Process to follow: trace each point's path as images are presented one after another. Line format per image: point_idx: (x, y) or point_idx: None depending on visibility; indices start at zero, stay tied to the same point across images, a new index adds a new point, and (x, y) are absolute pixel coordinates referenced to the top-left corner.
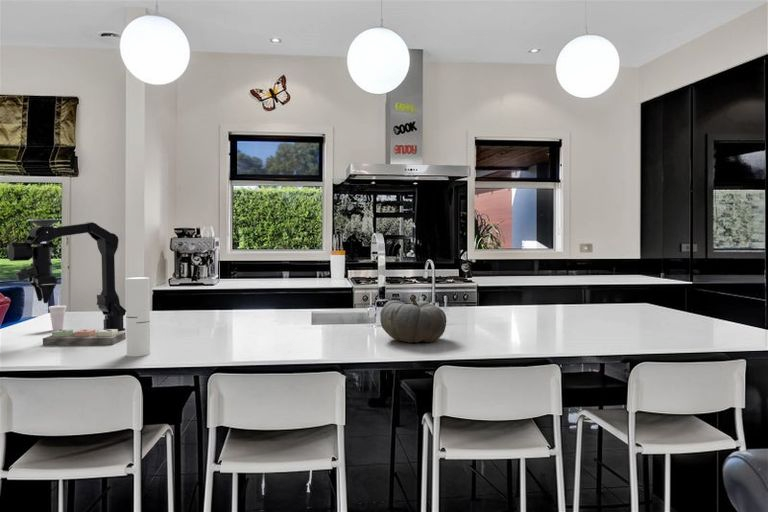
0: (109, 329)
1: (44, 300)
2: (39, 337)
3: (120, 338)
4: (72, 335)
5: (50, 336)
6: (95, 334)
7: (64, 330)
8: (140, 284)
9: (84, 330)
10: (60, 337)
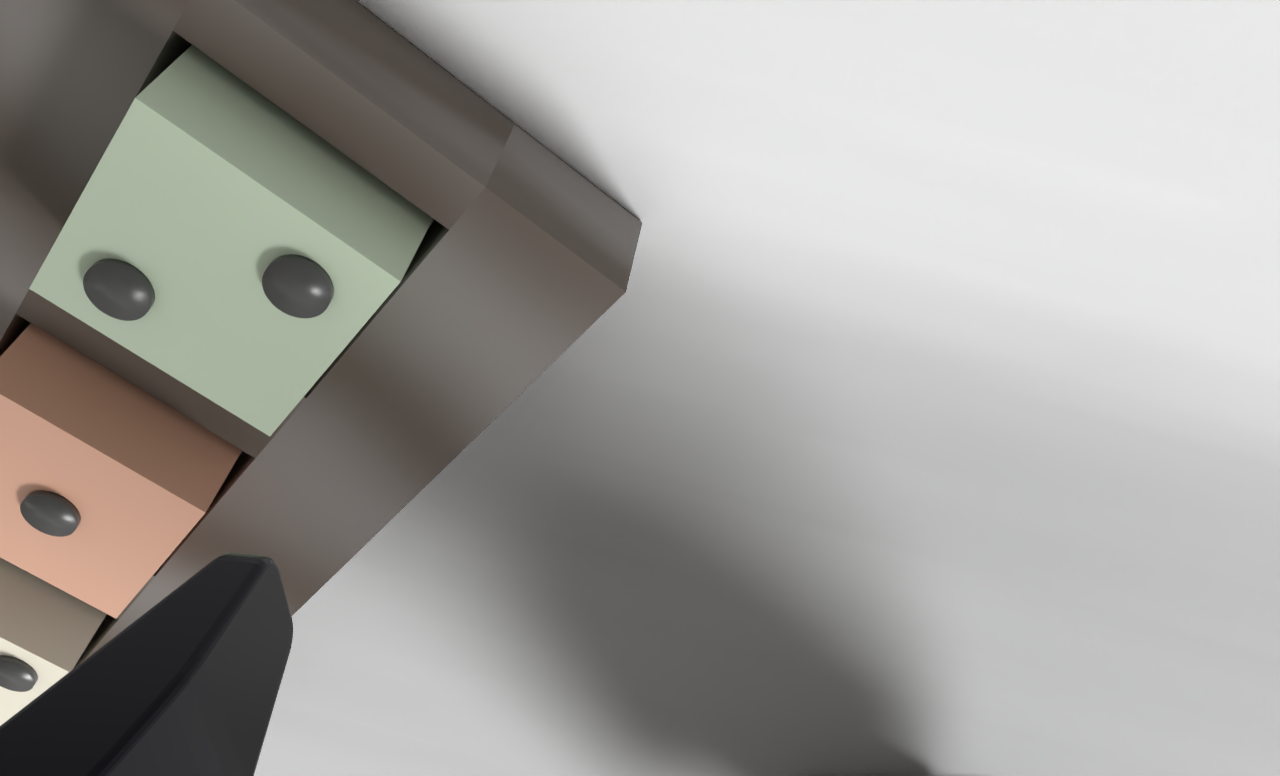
0: (26, 701)
1: (141, 649)
2: (1218, 27)
3: None
4: None
5: (227, 39)
6: None
7: (231, 317)
8: None
9: (24, 499)
10: (7, 138)
